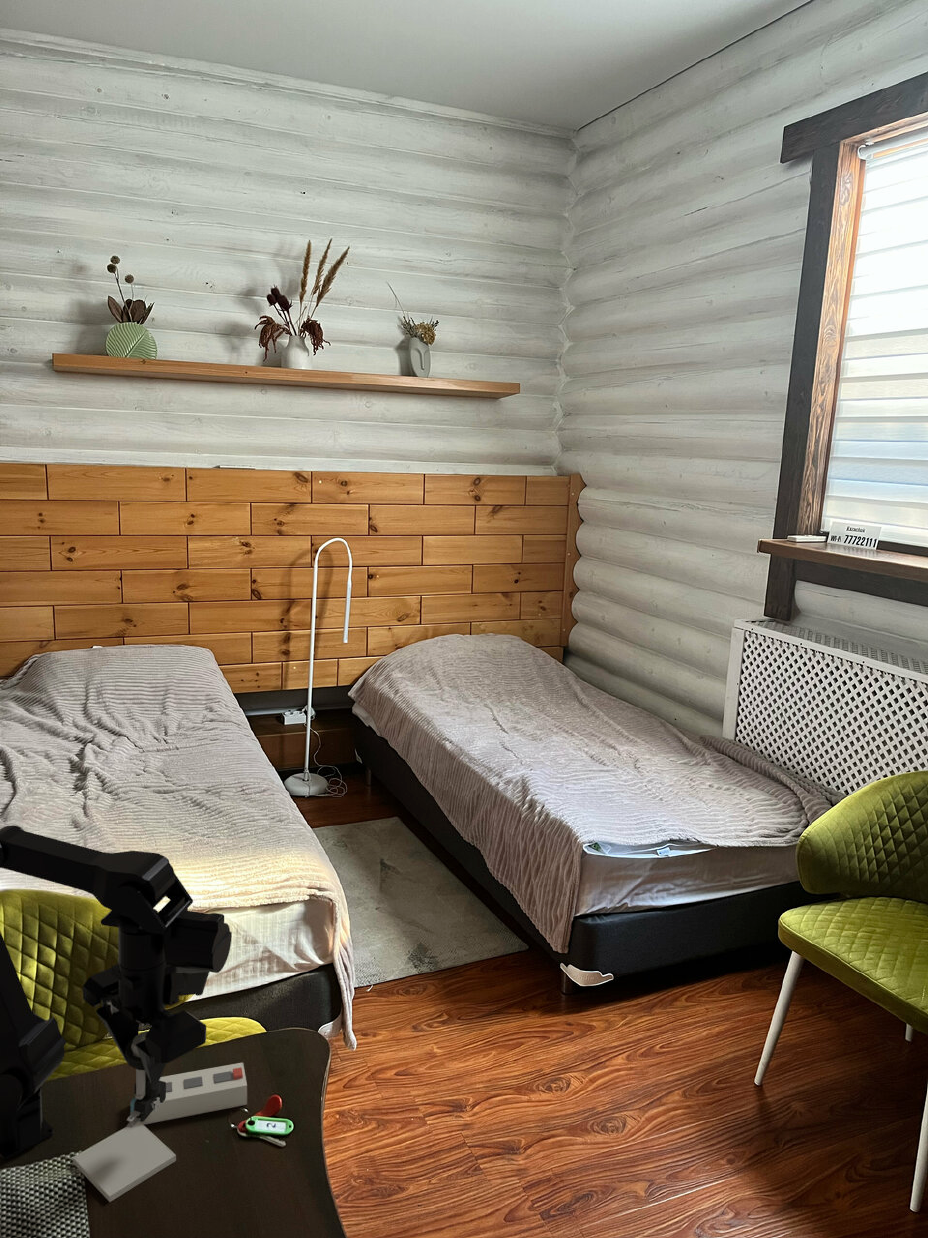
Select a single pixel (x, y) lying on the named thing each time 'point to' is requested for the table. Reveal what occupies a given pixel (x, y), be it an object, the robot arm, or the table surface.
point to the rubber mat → (124, 1160)
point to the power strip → (201, 1092)
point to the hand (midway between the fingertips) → (142, 1071)
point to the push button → (143, 1086)
